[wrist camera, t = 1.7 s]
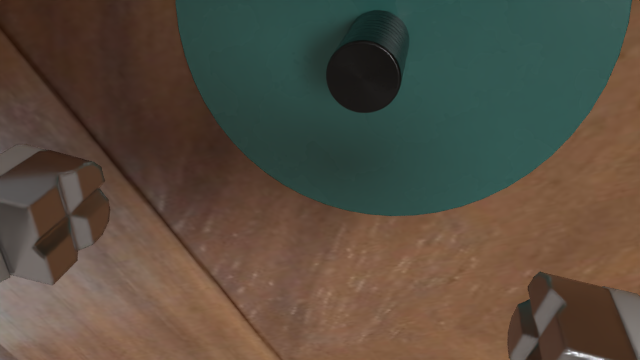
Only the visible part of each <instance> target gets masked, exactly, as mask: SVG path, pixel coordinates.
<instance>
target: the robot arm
mask: <svg viewBox="0 0 640 360" xmlns="http://www.w3.org/2000/svg"><path fill="white" fill-rule="evenodd" d="M104 182H105V180H104V176H103V172H102V168H101V166H99V165H98V164H96V163H95V162H92V161H88V160H85V159H81V158H77V157H74V156H70V155H66V154H63V153H59V152H55V151H51V150H46V149H42V148H39V147H35V146H31V145H28V144H23V145H15V146H13V147H12V148H10V149H8V150H7V151H5V152H3V153H1V154H0V282H2V281H4V280H6V279H8V278H10V275H13V276H17V277H21V278H25V279H29V280H33V281H37V282H41V283H45V284H49V285H52V286H53V285H54V284H55V283H56V282H57V281H58V280H59V279H60V278H61V277H62V276H63V275H64V274H65V273H66V272H67V271H68V270H69V268H70V267H71V266H72V265H73V264H74V263H75V262H76V261H77V259H78V250H81V249H83V248H86V247H89V246H91V245H93V244H94V243H95V242H96V241H97V240H98V239H99V238H100V237H101V236H102V235H103V233H104V230H105V228H106V226H107V224H108V222H109V216H110V206H109V201H108V199H107V197H106V196H105V195H104V194H103V192H102V191H101V190H100V187H101V186H102V184H103V183H104ZM528 292H529V297H530V299H529V300H527V301H525V302H523V303H520V304H518V305H517V307H516V309H515V311H514V313H513V315H512V317H511V321H510V325H509V330H508V342H507V345H508V354H509V358H510V360H640V296H639V295H638V294H636V293H632V292H627V291H623V290H618V289H614V288H609V287H605V286H603V287H601V286H598V285H593V284H589V283H585V282H581V281H577V280H573V279H568V278H564V277H560V276H556V275H552V274H547V273H543V272H539V273H538V274H537V275H535V276H534V277H533V279H532V281H531V282H530V284H529V286H528Z"/></svg>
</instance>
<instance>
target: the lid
mask: <svg viewBox="0 0 640 360" xmlns="http://www.w3.org/2000/svg"><path fill="white" fill-rule="evenodd" d="M631 3H632V0H176V11H177V19H178V27H179V33H180V37H181V41H182V45H183V49H184V53H185V57H186V60H187V63H188V65H189V68H190V71H191V74H192V76H193V79H194V82H195V84H196V86H197V88H198V90H199V92H200V94H201V96H202V98H203V100H204V102H205V104H206V105H207V107H208V109H209V110H210V112H211V113H212V115H213V116H214V118H215V120H216V121H217V123H218V124H219V125H220V127H221V128H222V129H223V130H224V132H225V133H226V134H227V136H228V137H229V138H230V139H231V141H232V142H233V143H234V144H235V145H236V146H237V147H238V148H239V149H240V150H241V151H242V152H243V153H244V154H245V155H246V156H247V157H248V158H249V159H250V160H251V161H252V162H254V163H255V164H256V165H257V166H258V167H260V168H261V169H262V170H263V171H264V172H266V173H267V174H269V175H270V176H272V177H273V178H275V179H276V180H278V181H279V182H281V183H282V184H283V185H285V186H287V187H289V188H291V189H293V190H295V191H296V192H298V193H300V194H302V195H304V196H306V197H309V198H311V199H314V200H316V201H319V202H321V203H324V204H327V205H330V206H333V207H337V208H340V209H344V210H348V211H353V212H359V213H364V214H372V215H385V216H409V215H420V214H428V213H436V212H440V211H445V210H449V209H453V208H457V207H461V206H464V205H467V204H470V203H472V202H475V201H478V200H481V199H484V198H486V197H488V196H490V195H492V194H494V193H496V192H498V191H500V190H502V189H504V188H506V187H508V186H510V185H511V184H513V183H515V182H516V181H518V180H519V179H521V178H523V177H524V176H526V175H527V174H529V173H530V172H532V171H533V170H534V169H535V168H537V167H538V166H539V165H540V164H542V163H543V162H544V161H545V160H547V159H548V158H549V157H550V156H552V155H553V154H554V153H555V152H556V151H557V150H558V149H559V148H560V147H561V145H562V144H563V143H564V142H565V141H566V140H567V139H568V138H569V137H570V136H571V135H572V134H573V133H574V132H575V130H576V129H577V128H578V126H579V125H580V124H581V123H582V121H583V120H584V119H585V118H586V116H587V115H588V114H589V112H590V111H591V109H592V108H593V106H594V104H595V103H596V101H597V99H598V98H599V96H600V94H601V93H602V91H603V89H604V88H605V86H606V84H607V82H608V79H609V77H610V75H611V73H612V70H613V68H614V66H615V63H616V61H617V59H618V57H619V54H620V51H621V47H622V44H623V40H624V37H625V33H626V30H627V26H628V23H629V17H630V10H631Z"/></svg>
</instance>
